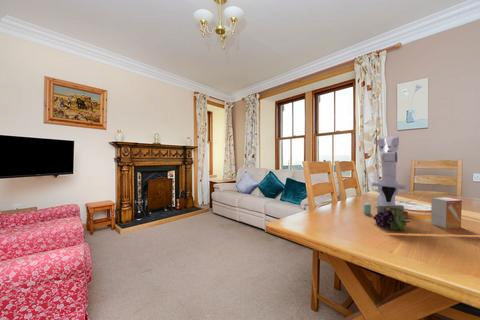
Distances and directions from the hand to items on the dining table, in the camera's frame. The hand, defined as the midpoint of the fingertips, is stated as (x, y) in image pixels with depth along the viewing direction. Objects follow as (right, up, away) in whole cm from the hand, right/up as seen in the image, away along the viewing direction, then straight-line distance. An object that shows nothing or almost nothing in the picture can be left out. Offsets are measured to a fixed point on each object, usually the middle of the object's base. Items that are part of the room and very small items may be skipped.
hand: (388, 201), depth 103 cm
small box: (+17, -9, -12) cm, 23 cm away
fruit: (-10, -10, -14) cm, 20 cm away
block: (+6, -8, +3) cm, 10 cm away
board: (+6, -9, -1) cm, 11 cm away
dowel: (-7, -9, +7) cm, 13 cm away
